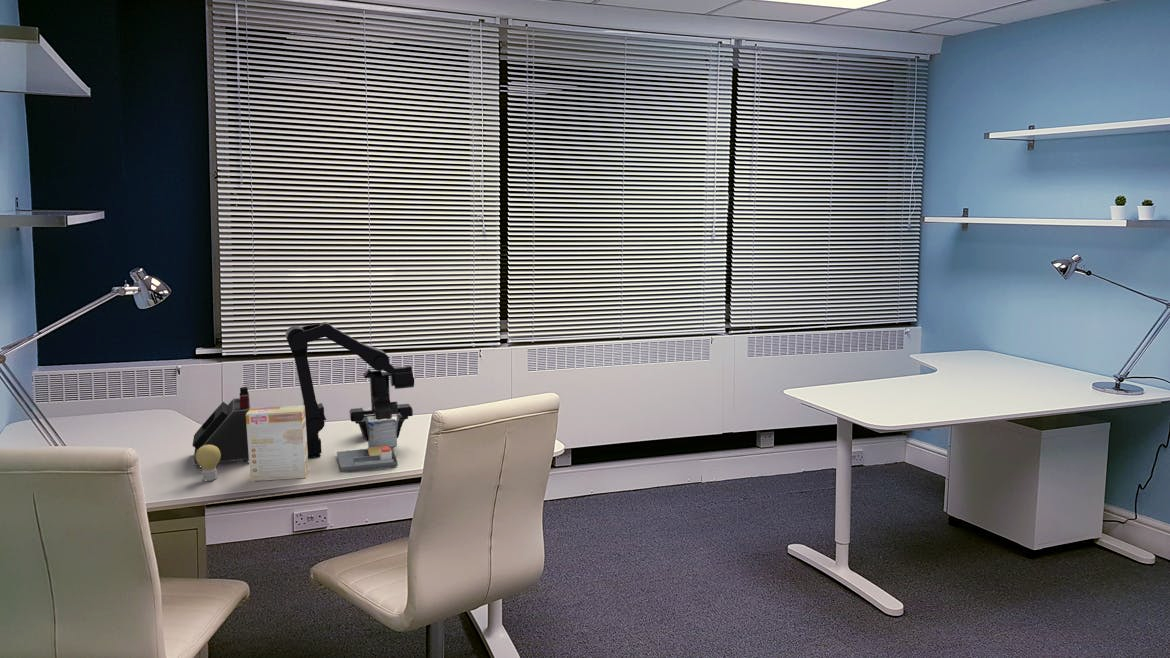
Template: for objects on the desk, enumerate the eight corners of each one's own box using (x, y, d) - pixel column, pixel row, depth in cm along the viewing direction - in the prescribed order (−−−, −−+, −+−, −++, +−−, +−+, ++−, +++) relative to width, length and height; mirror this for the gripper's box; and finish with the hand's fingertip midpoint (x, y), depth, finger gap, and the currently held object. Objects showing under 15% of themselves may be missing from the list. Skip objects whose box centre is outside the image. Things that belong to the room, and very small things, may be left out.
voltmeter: (196, 453, 278) (191, 390, 274) (253, 448, 283) (248, 385, 280) (193, 469, 263) (188, 402, 259) (253, 463, 268) (249, 397, 265)
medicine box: (390, 443, 287) (389, 416, 286) (397, 446, 284) (396, 419, 283) (367, 448, 282) (366, 421, 281) (374, 451, 279) (373, 424, 278)
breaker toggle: (381, 462, 264) (381, 450, 263) (379, 458, 267) (379, 446, 267) (391, 461, 264) (391, 449, 264) (390, 457, 268) (389, 445, 268)
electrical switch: (374, 439, 292) (370, 411, 290) (358, 440, 292) (354, 412, 291) (383, 431, 301) (379, 404, 300) (368, 432, 302) (364, 405, 300)
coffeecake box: (309, 470, 261) (305, 404, 258) (305, 478, 254) (301, 411, 251) (254, 473, 259) (250, 407, 255) (249, 481, 252) (245, 413, 248)
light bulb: (208, 475, 257) (205, 441, 256) (227, 477, 256) (224, 442, 254) (192, 482, 251) (189, 447, 250) (211, 484, 249) (209, 449, 248)
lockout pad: (370, 458, 267) (370, 456, 267) (367, 448, 277) (367, 447, 277) (391, 456, 269) (391, 454, 269) (387, 446, 279) (387, 445, 279)
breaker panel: (341, 472, 259) (340, 462, 259) (336, 456, 274) (336, 447, 274) (397, 466, 264) (397, 457, 264) (390, 451, 279) (390, 442, 279)
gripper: (351, 399, 270) (354, 449, 272) (414, 393, 276) (416, 443, 278) (348, 390, 280) (350, 439, 283) (409, 385, 286) (411, 433, 289)
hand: (382, 439), depth 283 cm, fingers closed on medicine box, 9 cm apart
